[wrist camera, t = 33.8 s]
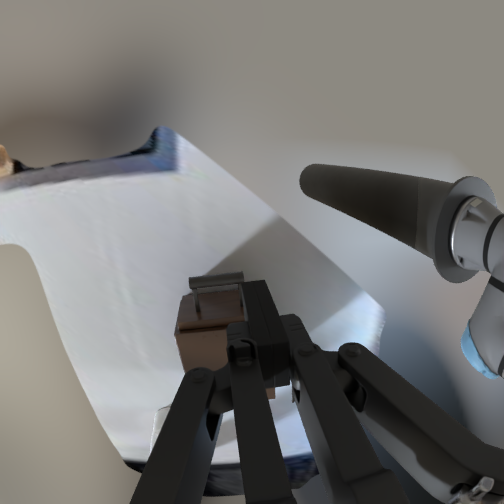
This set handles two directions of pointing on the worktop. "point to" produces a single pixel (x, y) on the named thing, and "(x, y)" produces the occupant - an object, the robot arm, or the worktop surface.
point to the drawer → (212, 303)
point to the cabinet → (205, 349)
